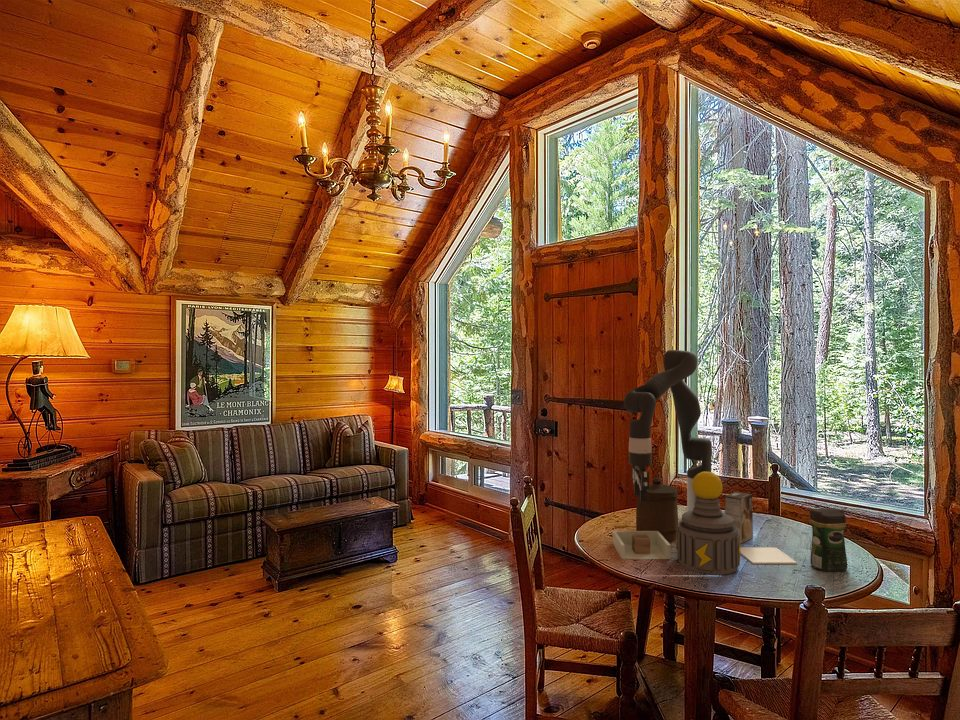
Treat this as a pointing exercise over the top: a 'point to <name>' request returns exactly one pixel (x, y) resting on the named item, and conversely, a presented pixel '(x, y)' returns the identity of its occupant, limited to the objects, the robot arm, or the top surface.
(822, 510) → the coffee jar
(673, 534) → the wooden container
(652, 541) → the open box
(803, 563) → the top surface
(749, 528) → the coffee box
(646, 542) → the walnut block
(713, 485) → the decorative lamp
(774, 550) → the mat
